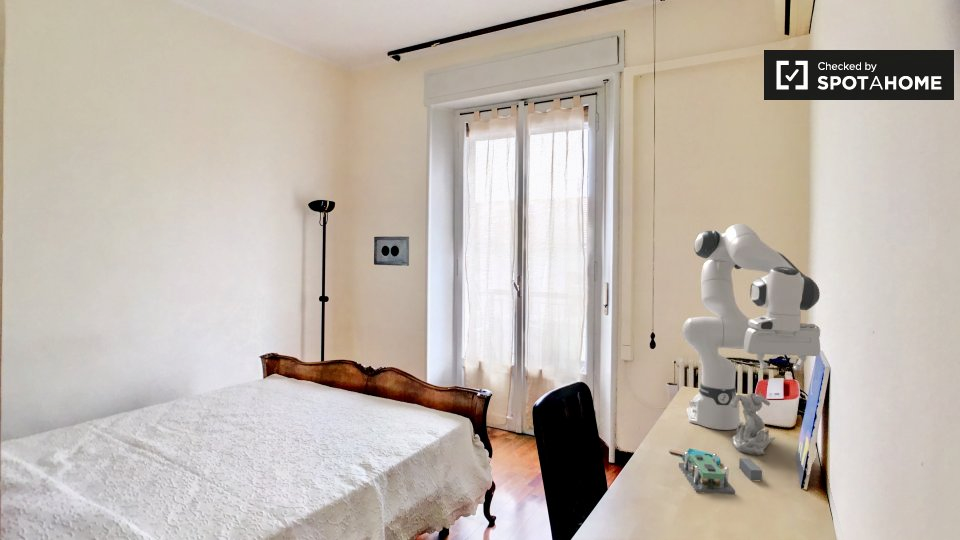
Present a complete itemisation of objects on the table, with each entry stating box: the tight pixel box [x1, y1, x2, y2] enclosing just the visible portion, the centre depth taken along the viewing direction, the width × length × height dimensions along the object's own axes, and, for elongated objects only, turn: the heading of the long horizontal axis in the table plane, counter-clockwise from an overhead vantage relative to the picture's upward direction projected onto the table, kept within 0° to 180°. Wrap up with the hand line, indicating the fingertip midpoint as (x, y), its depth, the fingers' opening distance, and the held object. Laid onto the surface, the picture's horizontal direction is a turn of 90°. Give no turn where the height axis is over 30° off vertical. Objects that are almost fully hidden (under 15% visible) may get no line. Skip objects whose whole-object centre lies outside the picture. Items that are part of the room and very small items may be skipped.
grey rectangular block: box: [738, 457, 763, 482], centre depth 150 cm, size 8×3×3 cm, turn 175°
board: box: [689, 454, 724, 479], centre depth 146 cm, size 12×6×2 cm, turn 175°
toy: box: [668, 448, 721, 467], centre depth 160 cm, size 7×2×15 cm
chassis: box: [678, 451, 736, 495], centre depth 146 cm, size 16×10×6 cm, turn 175°
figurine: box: [731, 390, 776, 456], centre depth 170 cm, size 18×13×18 cm
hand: (780, 369), depth 154 cm, fingers open, 8 cm apart
